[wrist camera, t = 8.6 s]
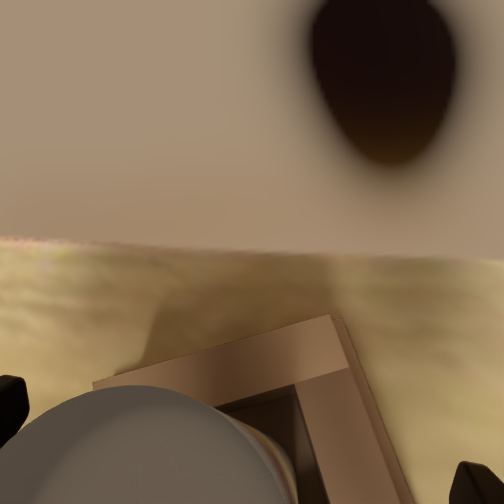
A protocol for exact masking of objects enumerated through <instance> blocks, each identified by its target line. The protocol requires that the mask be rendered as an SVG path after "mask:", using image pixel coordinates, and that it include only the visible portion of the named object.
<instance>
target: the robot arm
mask: <svg viewBox="0 0 504 504" xmlns="http://www.w3.org/2000/svg"><path fill="white" fill-rule="evenodd" d="M29 410H30V405H29V399H28V393H27V387H26V382H25V380H24V379H23V378H21V377H17V376H12V375H2V376H0V449H1V448H2V447H3V446H4V445H5V444H6V443H7V442H8V441H9V440H10V439H11V438H12V437H13V436H14V435H16V434H17V432H18V431H19V429H20V428H21V426H22V425H23V423H24V422H25V421H26V419H27V417H28V414H29ZM449 504H504V483H503V482H502V481H501V480H500V479H499V478H498V477H497V476H496V475H495V474H494V473H493V472H492V471H491V470H490V469H489V468H488V467H487V466H485V465H483V464H478V463H473V462H468V461H462V462H460V463H459V465H458V467H457V470H456V473H455V477H454V480H453V483H452V487H451V490H450V494H449Z"/></svg>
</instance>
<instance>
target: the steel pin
mask: <svg viewBox="0 0 504 504" xmlns="http://www.w3.org/2000/svg"><path fill="white" fill-rule="evenodd" d="M0 504H298V495H297V481H296V473H295V469H294V465H293V462H292V460H291V458H290V456H289V454H288V452H287V451H286V449H285V448H284V447H283V446H282V445H281V444H280V443H279V442H278V441H277V440H275V439H274V438H273V437H271V436H269V435H267V434H265V433H263V432H261V431H259V430H257V429H255V428H253V427H251V426H249V425H247V424H245V423H243V422H241V421H239V420H236V419H234V418H232V417H230V416H228V415H226V414H224V413H222V412H220V411H218V410H216V409H214V408H212V407H210V406H208V405H206V404H204V403H202V402H200V401H198V400H196V399H194V398H192V397H190V396H188V395H185V394H182V393H179V392H176V391H173V390H170V389H165V388H159V387H153V386H142V385H125V386H116V387H108V388H103V389H99V390H95V391H91V392H87V393H85V394H82V395H80V396H77V397H75V398H72V399H69V400H67V401H65V402H63V403H61V404H59V405H57V406H56V407H54V408H52V409H50V410H48V411H46V412H45V413H43V414H42V415H41V416H39V417H38V418H36V419H35V420H33V421H32V422H30V423H29V424H27V425H26V426H25V427H24V428H23V429H21V430H20V431H19V432H18V433H17V434H16V435H14V436H13V437H12V438H11V439H10V440H9V441H8V442H7V443H6V444H5V445H4V446H3V447H2V448H1V449H0Z"/></svg>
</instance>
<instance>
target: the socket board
mask: <svg viewBox="0 0 504 504" xmlns="http://www.w3.org/2000/svg"><path fill="white" fill-rule="evenodd" d="M125 385H142V386H153V387H159V388H165V389H170V390H173V391H176V392H179V393H182V394H185V395H188V396H190V397H192V398H194V399H196V400H198V401H200V402H202V403H204V404H206V405H208V406H210V407H212V408H214V409H216V410H218V411H220V412H222V413H224V414H226V415H228V416H230V417H232V418H234V419H236V420H239V421H241V422H243V423H245V424H247V425H249V426H251V427H253V428H255V429H257V430H259V431H261V432H263V433H265V434H267V435H269V436H271V437H273V438H274V439H275V440H277V441H278V442H279V443H280V444H281V445H282V446H283V447H284V448H285V449H286V451H287V452H288V454H289V456H290V458H291V460H292V462H293V465H294V469H295V473H296V481H297V495H298V504H414V503H413V500H412V497H411V495H410V492H409V490H408V487H407V484H406V482H405V479H404V477H403V474H402V472H401V469H400V466H399V464H398V461H397V459H396V456H395V453H394V451H393V448H392V446H391V443H390V441H389V438H388V435H387V433H386V430H385V428H384V425H383V422H382V420H381V417H380V415H379V412H378V410H377V407H376V404H375V402H374V399H373V397H372V394H371V392H370V389H369V386H368V384H367V381H366V379H365V376H364V373H363V371H362V368H361V366H360V363H359V361H358V358H357V355H356V353H355V350H354V348H353V345H352V342H351V340H350V337H349V335H348V332H347V330H346V327H345V324H344V322H343V319H342V318H338V319H335V320H332V319H331V316H330V314H326V315H323V316H320V317H316V318H313V319H309V320H306V321H302V322H299V323H295V324H292V325H288V326H285V327H282V328H278V329H275V330H271V331H268V332H264V333H261V334H257V335H254V336H251V337H247V338H244V339H240V340H237V341H233V342H230V343H226V344H223V345H219V346H216V347H213V348H209V349H206V350H202V351H199V352H195V353H192V354H188V355H185V356H182V357H178V358H175V359H171V360H168V361H164V362H161V363H157V364H154V365H150V366H147V367H144V368H140V369H137V370H133V371H130V372H126V373H123V374H119V375H116V376H112V377H109V378H106V379H102V380H99V381H95V382H93V391H95V390H99V389H103V388H108V387H116V386H125Z"/></svg>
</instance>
